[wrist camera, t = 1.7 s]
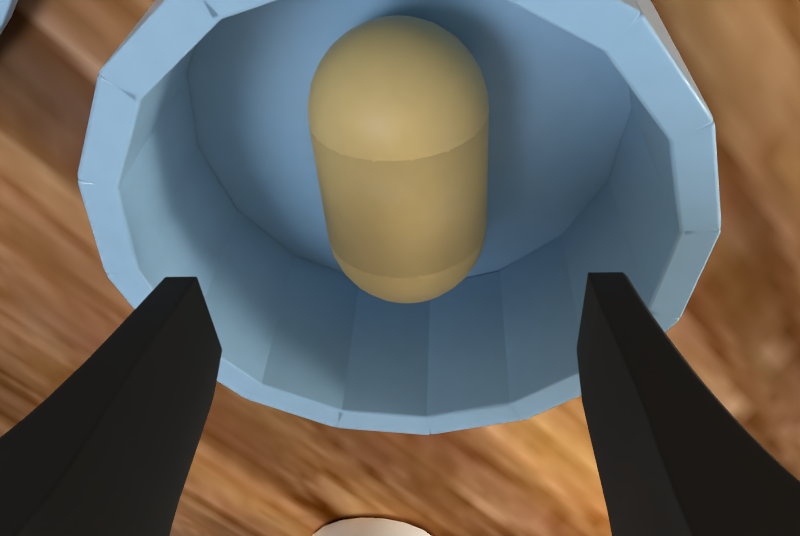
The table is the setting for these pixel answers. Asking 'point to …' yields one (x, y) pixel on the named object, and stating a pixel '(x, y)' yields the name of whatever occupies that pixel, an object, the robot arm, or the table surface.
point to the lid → (6, 12)
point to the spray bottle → (370, 528)
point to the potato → (401, 156)
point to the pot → (305, 222)
